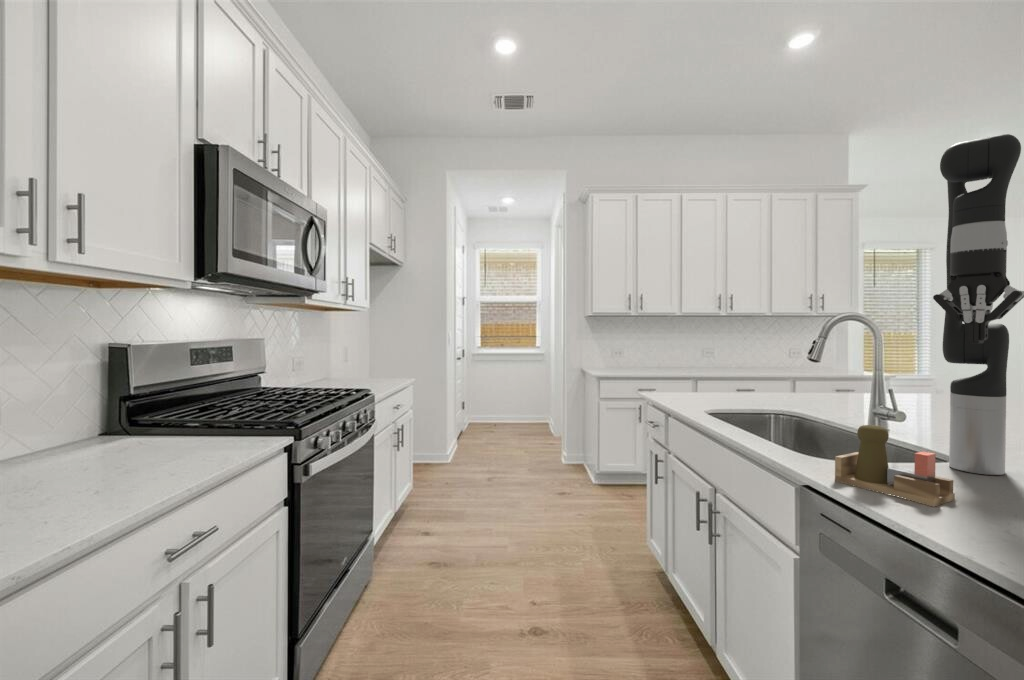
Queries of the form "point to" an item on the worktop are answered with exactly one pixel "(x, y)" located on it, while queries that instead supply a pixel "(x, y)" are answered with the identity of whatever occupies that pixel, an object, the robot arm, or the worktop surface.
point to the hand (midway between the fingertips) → (976, 343)
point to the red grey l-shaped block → (916, 468)
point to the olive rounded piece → (872, 454)
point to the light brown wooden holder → (897, 483)
